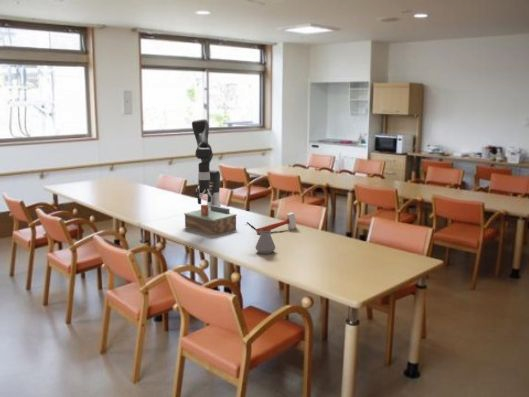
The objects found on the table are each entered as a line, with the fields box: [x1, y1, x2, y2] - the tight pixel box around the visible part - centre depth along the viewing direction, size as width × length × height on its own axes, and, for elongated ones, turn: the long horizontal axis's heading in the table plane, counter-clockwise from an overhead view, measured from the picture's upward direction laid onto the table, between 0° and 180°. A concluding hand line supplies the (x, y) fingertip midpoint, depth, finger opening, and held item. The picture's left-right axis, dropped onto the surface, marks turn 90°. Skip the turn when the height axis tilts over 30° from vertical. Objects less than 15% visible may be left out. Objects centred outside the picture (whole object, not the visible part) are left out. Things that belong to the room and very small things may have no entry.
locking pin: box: [200, 204, 209, 216], centre depth 347 cm, size 3×3×12 cm
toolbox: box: [184, 215, 237, 236], centre depth 352 cm, size 20×28×9 cm
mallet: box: [255, 212, 297, 235], centre depth 348 cm, size 11×4×30 cm
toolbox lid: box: [183, 205, 238, 221], centre depth 351 cm, size 21×28×4 cm
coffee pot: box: [245, 221, 276, 255], centre depth 304 cm, size 21×12×15 cm, turn 46°
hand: (204, 203), depth 346 cm, fingers open, 8 cm apart
